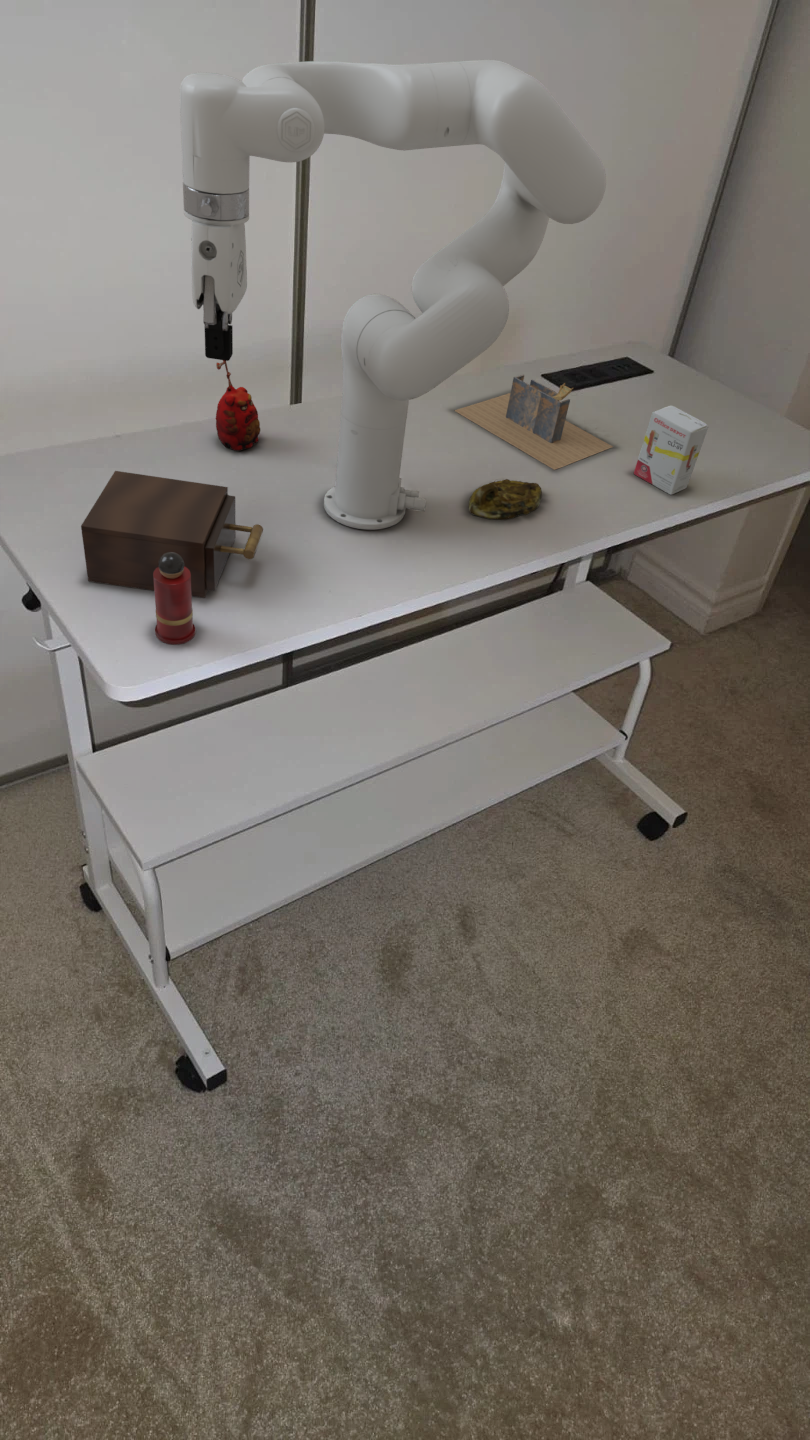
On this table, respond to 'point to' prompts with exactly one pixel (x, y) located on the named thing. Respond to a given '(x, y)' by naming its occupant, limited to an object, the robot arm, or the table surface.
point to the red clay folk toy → (236, 417)
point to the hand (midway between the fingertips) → (219, 356)
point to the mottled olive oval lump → (505, 499)
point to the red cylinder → (173, 600)
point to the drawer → (227, 542)
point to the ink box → (670, 449)
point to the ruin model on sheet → (535, 423)
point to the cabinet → (149, 529)
